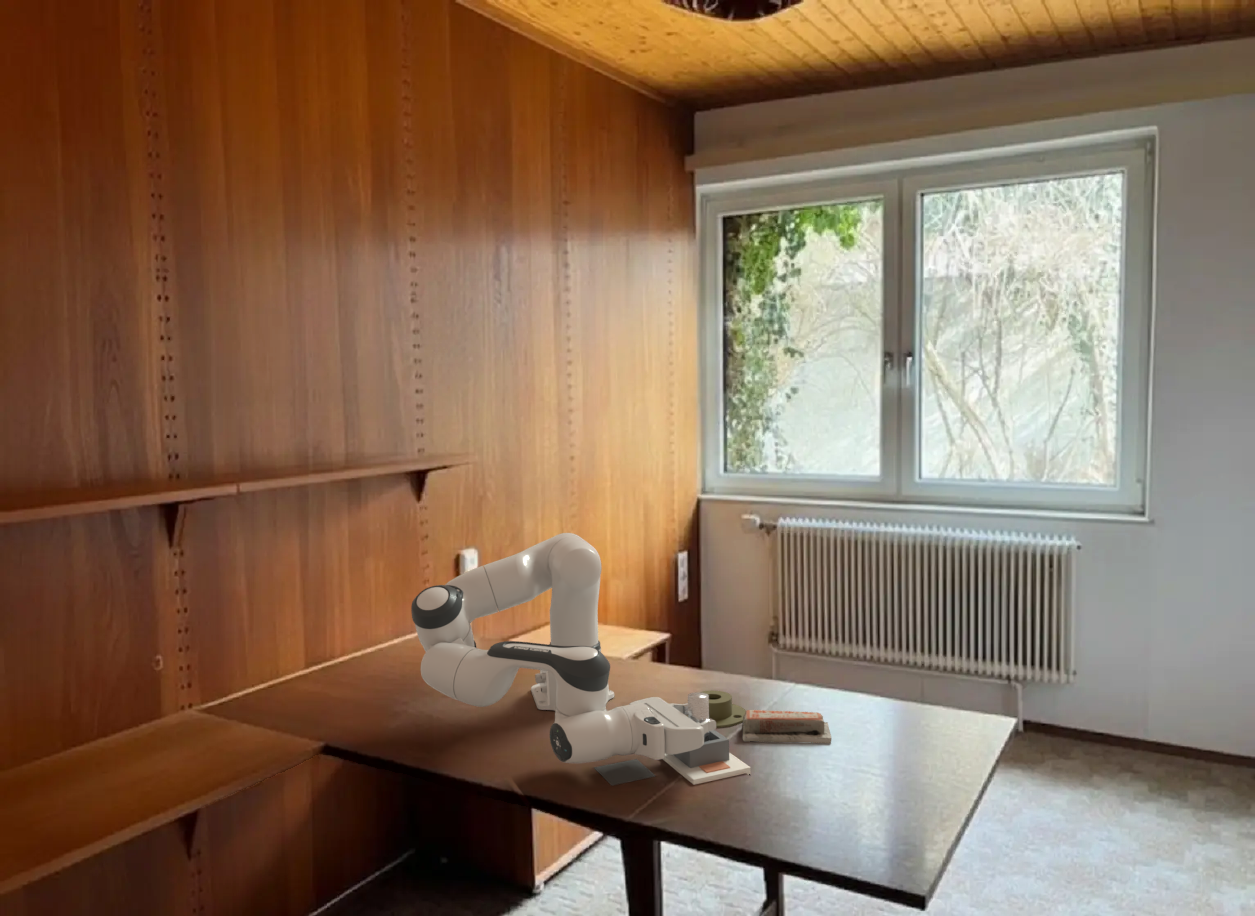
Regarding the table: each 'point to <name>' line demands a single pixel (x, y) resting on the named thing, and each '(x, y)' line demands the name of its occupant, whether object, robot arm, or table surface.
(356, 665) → the table surface
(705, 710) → the barrel peg
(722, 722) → the flange
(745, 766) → the mounting plate
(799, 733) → the packaged product
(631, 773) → the pad
